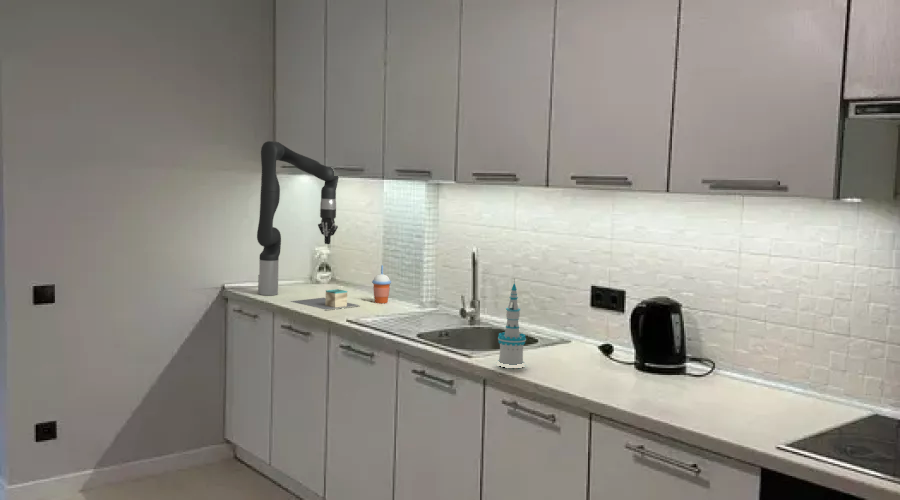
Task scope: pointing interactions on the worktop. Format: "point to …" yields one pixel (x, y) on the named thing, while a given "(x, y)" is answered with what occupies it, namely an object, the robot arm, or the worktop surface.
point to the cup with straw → (381, 287)
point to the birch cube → (336, 298)
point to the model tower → (512, 334)
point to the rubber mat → (321, 303)
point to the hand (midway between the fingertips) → (327, 244)
